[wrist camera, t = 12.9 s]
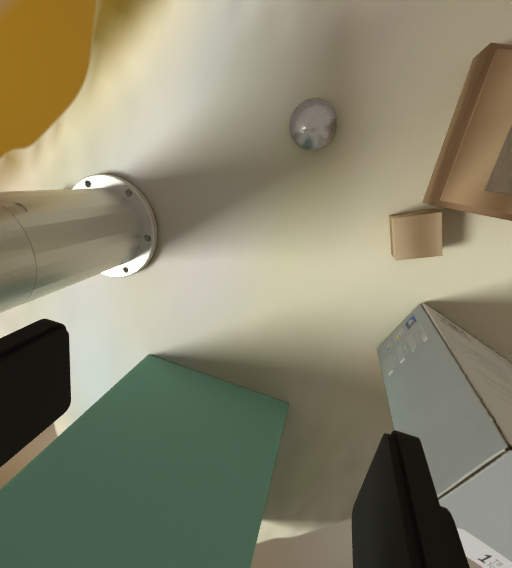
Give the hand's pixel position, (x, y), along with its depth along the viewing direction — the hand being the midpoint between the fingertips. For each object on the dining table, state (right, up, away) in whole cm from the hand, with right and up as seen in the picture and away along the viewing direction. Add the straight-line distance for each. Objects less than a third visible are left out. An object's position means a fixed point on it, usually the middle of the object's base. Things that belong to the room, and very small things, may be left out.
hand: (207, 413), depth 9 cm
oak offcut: (+17, +9, +23) cm, 30 cm away
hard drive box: (+23, -5, +27) cm, 36 cm away
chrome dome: (+7, +19, +23) cm, 31 cm away
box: (-6, -20, +39) cm, 44 cm away
